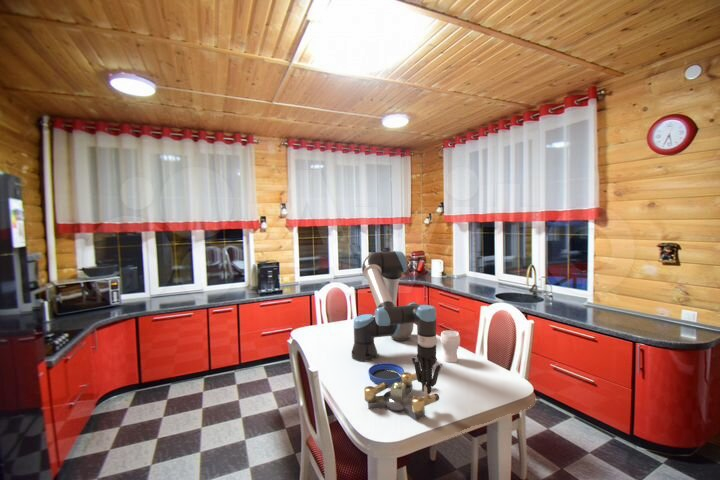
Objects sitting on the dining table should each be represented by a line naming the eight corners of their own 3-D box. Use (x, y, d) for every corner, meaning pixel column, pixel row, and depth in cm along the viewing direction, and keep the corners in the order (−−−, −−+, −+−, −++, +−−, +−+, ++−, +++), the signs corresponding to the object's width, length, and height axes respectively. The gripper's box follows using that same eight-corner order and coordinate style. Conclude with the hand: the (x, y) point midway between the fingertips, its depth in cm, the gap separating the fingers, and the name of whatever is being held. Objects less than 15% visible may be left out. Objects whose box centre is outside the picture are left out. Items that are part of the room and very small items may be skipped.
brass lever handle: (417, 415, 121) (417, 404, 121) (409, 409, 126) (409, 398, 125) (442, 404, 128) (442, 394, 128) (434, 399, 132) (434, 389, 132)
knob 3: (370, 403, 130) (369, 393, 130) (362, 399, 134) (362, 389, 134) (391, 391, 139) (391, 382, 139) (383, 387, 143) (383, 378, 142)
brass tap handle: (404, 387, 142) (404, 378, 142) (399, 382, 147) (399, 373, 147) (429, 382, 147) (429, 372, 146) (424, 377, 151) (423, 368, 151)
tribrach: (363, 407, 132) (362, 387, 132) (382, 383, 152) (381, 365, 151) (422, 422, 122) (421, 400, 121) (434, 394, 141) (434, 375, 141)
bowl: (394, 390, 146) (394, 382, 146) (361, 380, 156) (361, 373, 155) (410, 374, 161) (410, 367, 161) (379, 366, 171) (379, 360, 171)
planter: (419, 335, 215) (418, 308, 214) (407, 345, 198) (406, 315, 197) (393, 331, 225) (392, 304, 224) (379, 340, 209) (379, 311, 208)
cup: (461, 364, 170) (461, 337, 169) (441, 363, 172) (440, 336, 171) (459, 356, 180) (459, 330, 179) (440, 355, 182) (439, 329, 181)
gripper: (408, 343, 129) (408, 398, 130) (437, 351, 121) (437, 410, 122) (417, 337, 135) (417, 391, 136) (445, 344, 127) (445, 401, 128)
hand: (426, 400), depth 129 cm, fingers closed
